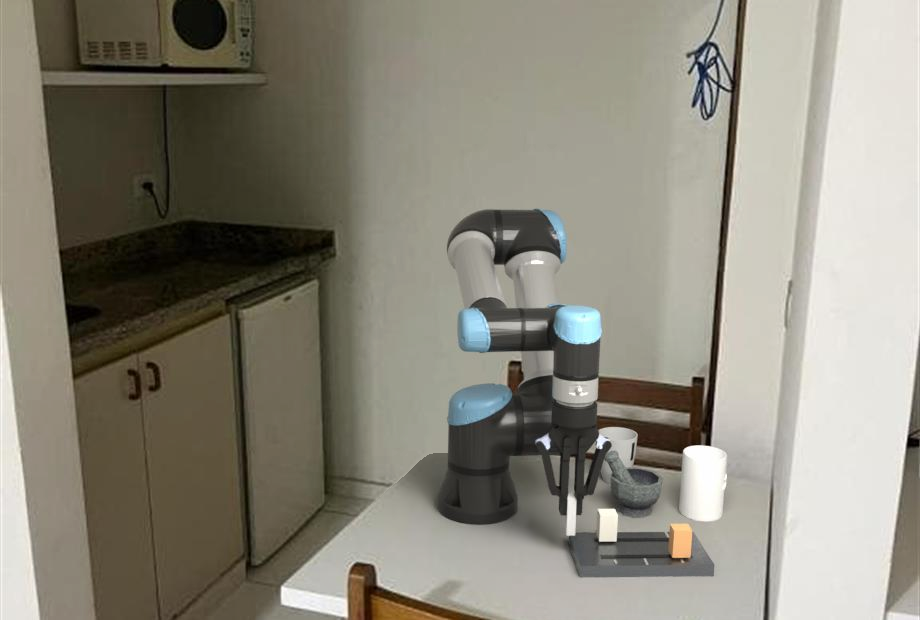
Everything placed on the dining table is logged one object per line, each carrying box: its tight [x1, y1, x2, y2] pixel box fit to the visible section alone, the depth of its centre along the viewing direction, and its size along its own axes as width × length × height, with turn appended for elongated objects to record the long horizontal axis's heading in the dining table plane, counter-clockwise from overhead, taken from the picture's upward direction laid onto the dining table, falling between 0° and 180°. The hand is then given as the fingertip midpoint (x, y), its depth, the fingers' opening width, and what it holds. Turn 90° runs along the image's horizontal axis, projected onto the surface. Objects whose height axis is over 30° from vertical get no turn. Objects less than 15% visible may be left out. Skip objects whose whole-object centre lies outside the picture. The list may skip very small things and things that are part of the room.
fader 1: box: [596, 508, 619, 542], centre depth 158 cm, size 3×3×5 cm
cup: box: [598, 426, 639, 484], centre depth 188 cm, size 8×8×10 cm
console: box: [568, 531, 715, 578], centre depth 156 cm, size 22×12×2 cm, turn 92°
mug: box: [678, 444, 728, 523], centre depth 175 cm, size 8×12×12 cm
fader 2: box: [668, 523, 693, 558], centre depth 152 cm, size 3×3×5 cm
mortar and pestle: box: [604, 451, 664, 519], centre depth 173 cm, size 11×9×12 cm
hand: (569, 531), depth 158 cm, fingers closed
